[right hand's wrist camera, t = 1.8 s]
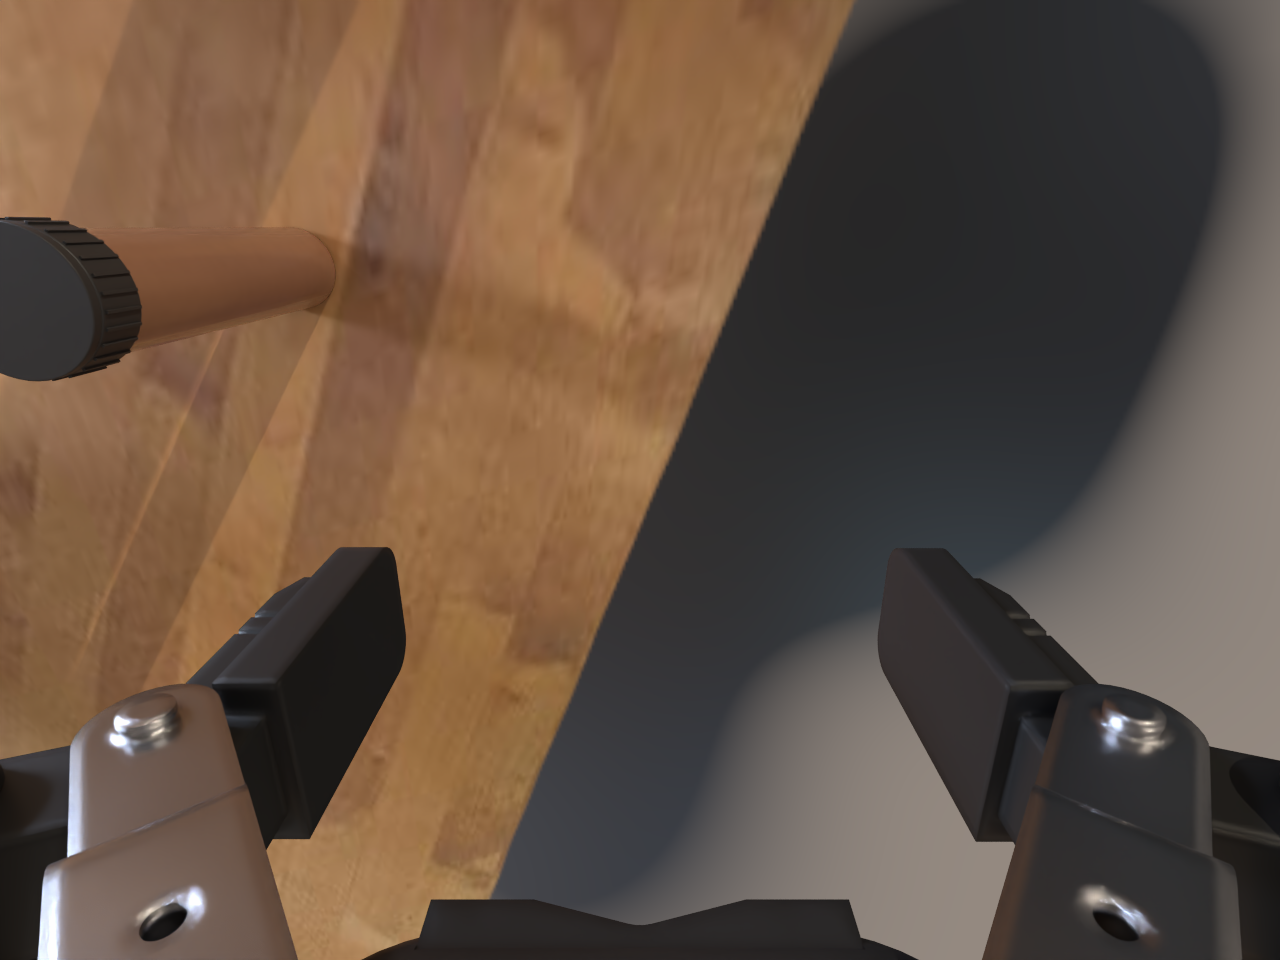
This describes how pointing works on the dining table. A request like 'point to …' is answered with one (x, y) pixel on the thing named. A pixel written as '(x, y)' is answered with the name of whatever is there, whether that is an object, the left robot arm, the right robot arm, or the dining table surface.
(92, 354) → the lid
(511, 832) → the dining table surface
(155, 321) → the brown capped cylinder
